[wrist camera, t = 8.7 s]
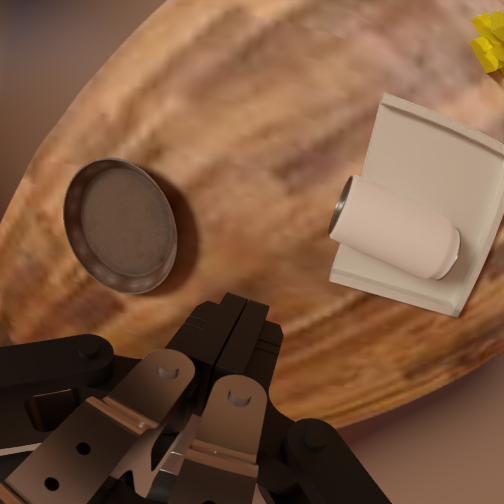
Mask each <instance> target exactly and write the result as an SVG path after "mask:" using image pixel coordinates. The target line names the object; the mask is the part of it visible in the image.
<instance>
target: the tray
mask: <svg viewBox="0 0 504 504" xmlns="http://www.w3.org/2000/svg"><path fill="white" fill-rule="evenodd" d="M361 177H363V178H366V179H368V180H370V181H373V182H375V183H377V184H379V185H381V186H384V187H386V188H388V189H390V190H392V191H394V192H397V193H399V194H401V195H403V196H405V197H407V198H409V199H411V200H413V201H415V202H417V203H419V204H421V205H423V206H425V207H427V208H429V209H431V210H433V211H435V212H436V213H438V214H440V215H442V216H444V217H445V218H447V219H448V220H449V221H450V222H451V223H452V225H453V226H454V228H457V229H459V231H460V233H461V239H462V241H461V249H460V253H459V256H458V258H457V261H456V263H455V265H454V267H453V268H452V270H451V271H450V272H449V274H448V275H447V276H446V277H445V278H443V279H442V280H439V281H436V280H434V279H433V278H431V279H422V278H419V277H417V276H415V275H412V274H410V273H408V272H406V271H404V270H401V269H399V268H397V267H395V266H392V265H390V264H388V263H386V262H383V261H381V260H379V259H377V258H374V257H372V256H370V255H368V254H365V253H363V252H361V251H358V250H356V249H354V248H352V247H349V246H347V245H345V244H342V243H340V245H339V248H338V251H337V254H336V257H335V260H334V263H333V266H332V269H331V272H330V280H329V281H331V282H335V283H338V284H342V285H345V286H348V287H352V288H355V289H359V290H362V291H366V292H369V293H373V294H376V295H380V296H383V297H387V298H390V299H394V300H397V301H401V302H404V303H408V304H411V305H415V306H418V307H422V308H425V309H429V310H432V311H436V312H439V313H443V314H446V315H450V316H453V317H457V318H458V316H459V314H460V312H461V310H462V308H463V307H464V305H465V303H466V301H467V299H468V297H469V295H470V293H471V291H472V289H473V287H474V284H475V282H476V280H477V278H478V276H479V274H480V272H481V269H482V267H483V265H484V263H485V260H486V258H487V256H488V253H489V251H490V248H491V246H492V243H493V241H494V238H495V236H496V233H497V230H498V228H499V225H500V222H501V220H502V217H503V214H504V144H502V143H500V142H498V141H497V140H495V139H493V138H491V137H489V136H487V135H485V134H483V133H481V132H479V131H477V130H475V129H473V128H471V127H469V126H466V125H464V124H462V123H460V122H458V121H456V120H453V119H451V118H449V117H447V116H444V115H442V114H439V113H437V112H435V111H432V110H430V109H427V108H425V107H422V106H420V105H417V104H414V103H412V102H409V101H406V100H404V99H401V98H398V97H395V96H392V95H389V94H386V93H383V94H382V95H381V99H380V103H379V107H378V111H377V115H376V120H375V124H374V128H373V132H372V136H371V139H370V143H369V147H368V151H367V155H366V158H365V162H364V166H363V169H362V173H361Z"/></svg>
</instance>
